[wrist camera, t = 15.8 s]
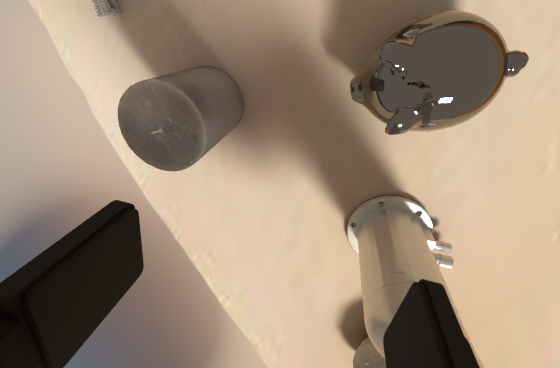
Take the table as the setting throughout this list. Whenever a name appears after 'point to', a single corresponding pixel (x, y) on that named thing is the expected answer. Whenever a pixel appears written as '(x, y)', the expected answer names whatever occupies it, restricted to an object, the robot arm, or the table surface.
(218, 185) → the table surface
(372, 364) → the decorative shell
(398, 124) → the piggy bank
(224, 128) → the pillar candle
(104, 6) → the lattice window wall
